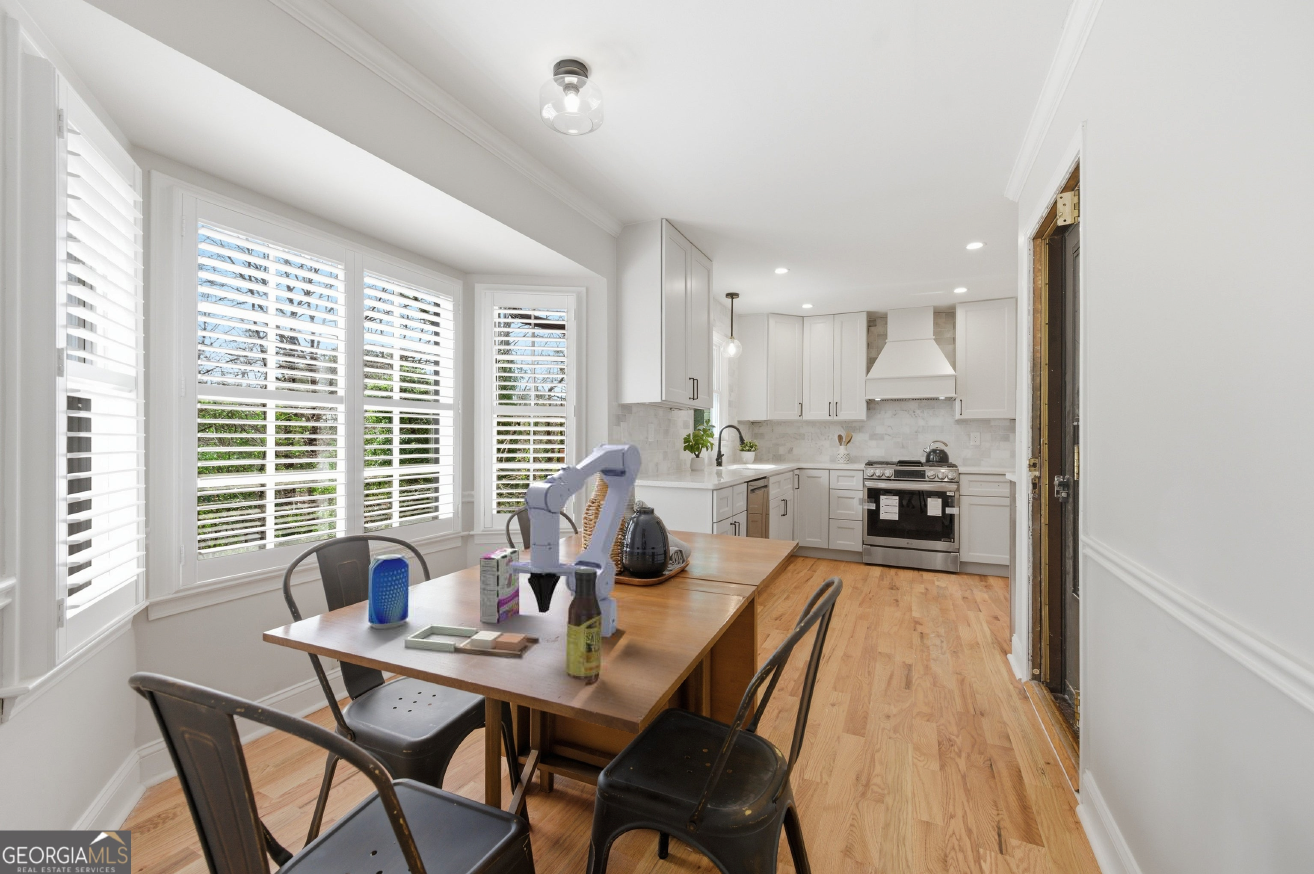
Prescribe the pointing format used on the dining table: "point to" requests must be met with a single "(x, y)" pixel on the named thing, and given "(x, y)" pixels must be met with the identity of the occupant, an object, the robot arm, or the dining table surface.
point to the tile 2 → (511, 642)
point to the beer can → (388, 590)
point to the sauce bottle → (584, 629)
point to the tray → (418, 642)
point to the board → (467, 649)
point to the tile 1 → (485, 639)
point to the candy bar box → (498, 586)
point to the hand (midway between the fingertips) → (544, 610)
